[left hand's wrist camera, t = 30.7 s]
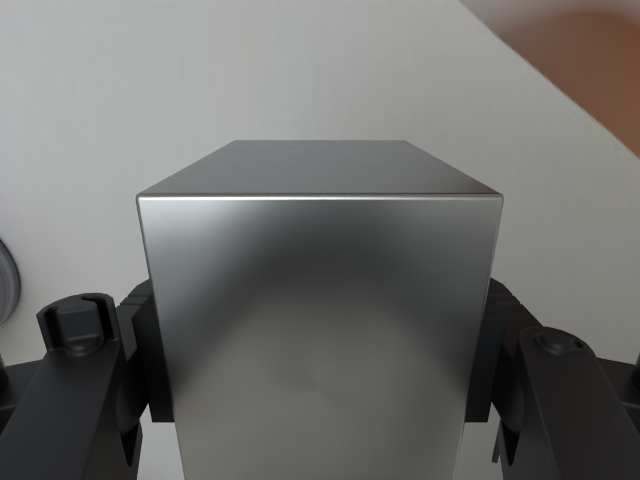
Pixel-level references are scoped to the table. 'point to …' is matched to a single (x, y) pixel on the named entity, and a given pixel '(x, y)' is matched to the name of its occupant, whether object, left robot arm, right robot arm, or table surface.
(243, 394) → the grey metal block
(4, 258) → the right robot arm
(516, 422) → the left robot arm
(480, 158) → the table surface
